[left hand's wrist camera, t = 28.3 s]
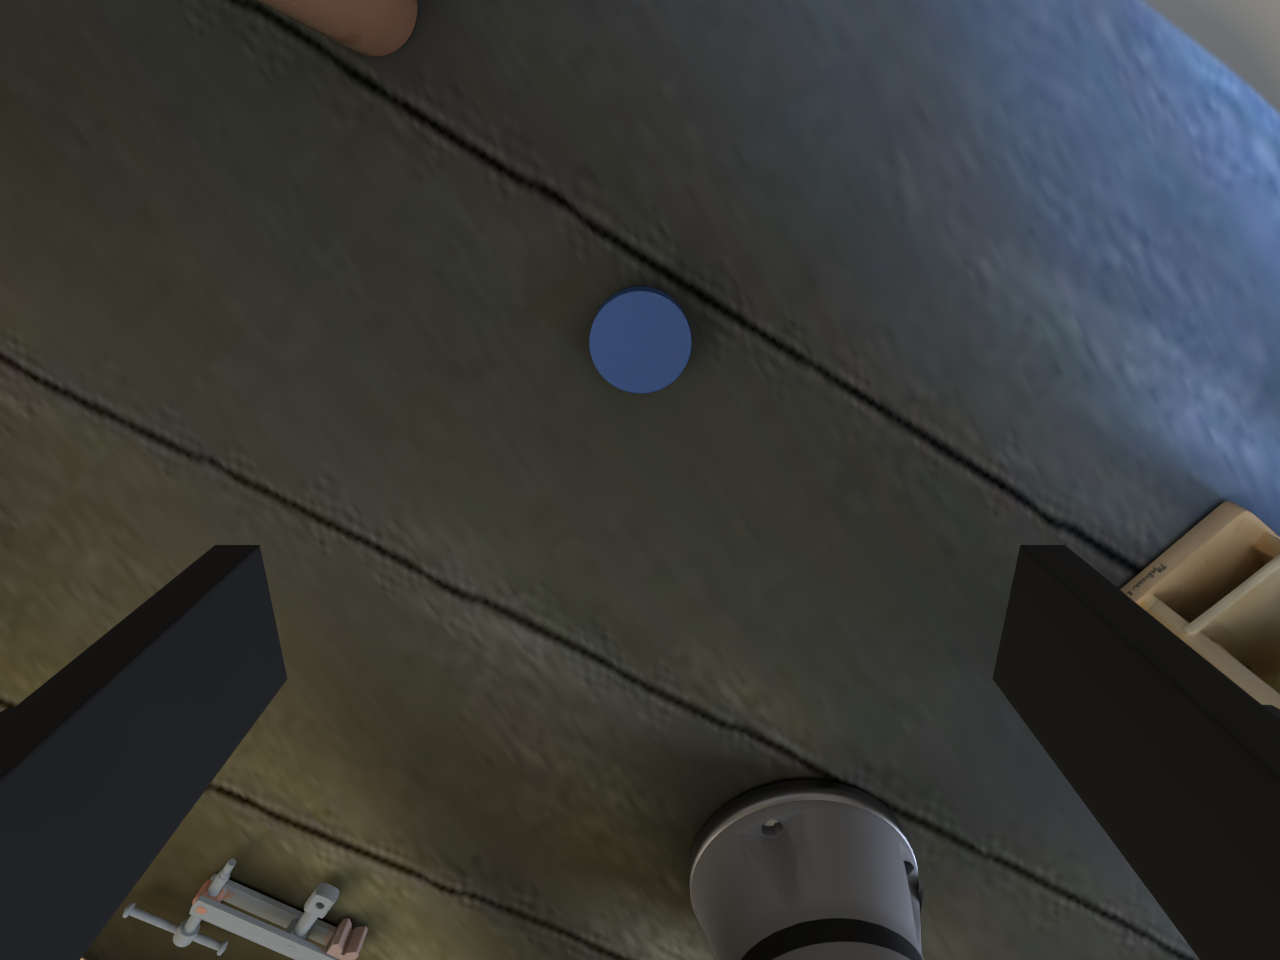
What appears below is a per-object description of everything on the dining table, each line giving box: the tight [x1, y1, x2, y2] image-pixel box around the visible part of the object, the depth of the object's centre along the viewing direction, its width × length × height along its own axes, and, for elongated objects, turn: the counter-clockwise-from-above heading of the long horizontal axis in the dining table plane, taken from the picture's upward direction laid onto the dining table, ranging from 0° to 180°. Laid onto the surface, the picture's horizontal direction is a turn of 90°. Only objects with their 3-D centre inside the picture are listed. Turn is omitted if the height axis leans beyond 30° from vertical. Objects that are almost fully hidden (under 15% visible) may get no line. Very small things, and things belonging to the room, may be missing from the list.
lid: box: [589, 286, 692, 393], centre depth 37 cm, size 5×5×2 cm
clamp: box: [123, 859, 368, 960], centre depth 51 cm, size 15×2×10 cm
